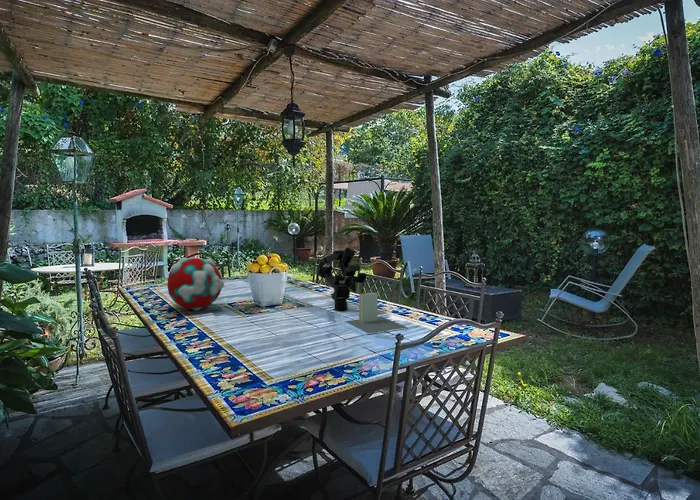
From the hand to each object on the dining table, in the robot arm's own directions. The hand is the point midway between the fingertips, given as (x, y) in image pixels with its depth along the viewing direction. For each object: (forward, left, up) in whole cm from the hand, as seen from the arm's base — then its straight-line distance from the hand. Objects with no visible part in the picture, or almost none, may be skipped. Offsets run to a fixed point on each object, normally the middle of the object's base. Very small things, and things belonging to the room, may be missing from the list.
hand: (354, 291), depth 221 cm
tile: (+13, -7, -13) cm, 19 cm away
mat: (+19, -11, -14) cm, 26 cm away
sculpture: (-85, -35, -14) cm, 93 cm away
